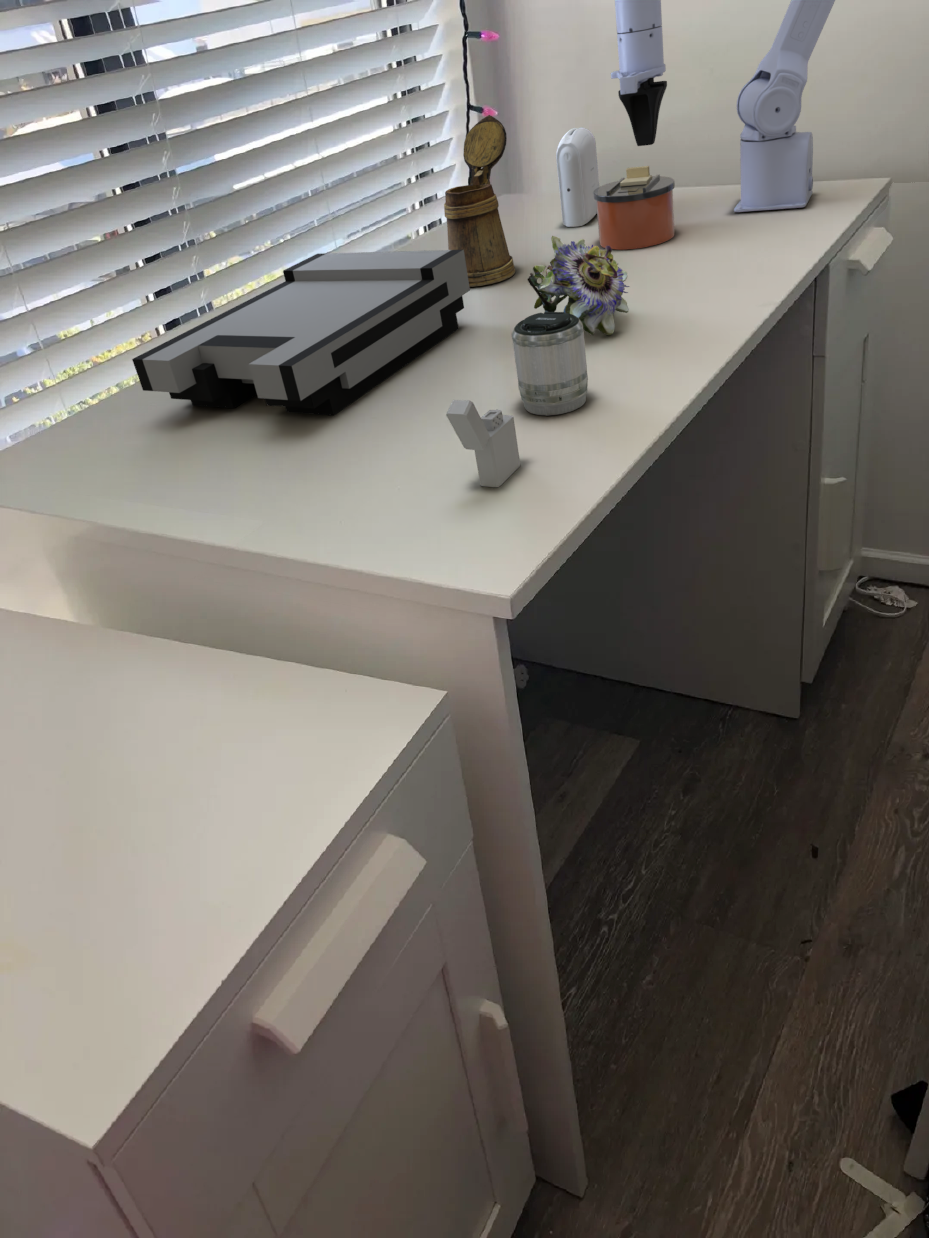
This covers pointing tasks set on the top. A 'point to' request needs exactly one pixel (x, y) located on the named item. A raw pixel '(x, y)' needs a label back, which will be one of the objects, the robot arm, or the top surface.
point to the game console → (316, 333)
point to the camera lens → (551, 362)
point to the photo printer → (577, 176)
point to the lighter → (487, 440)
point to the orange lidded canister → (635, 213)
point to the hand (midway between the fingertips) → (645, 144)
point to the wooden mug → (480, 208)
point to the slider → (637, 176)
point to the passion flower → (582, 284)
